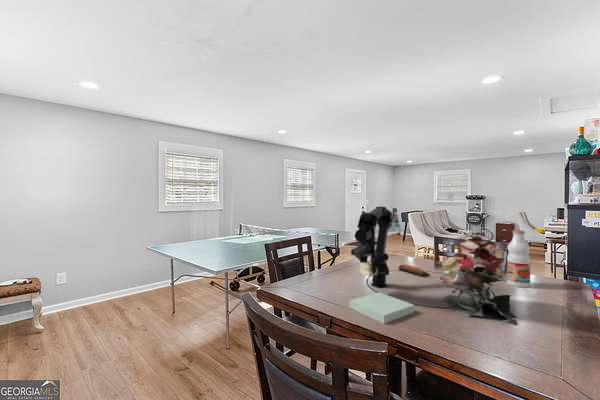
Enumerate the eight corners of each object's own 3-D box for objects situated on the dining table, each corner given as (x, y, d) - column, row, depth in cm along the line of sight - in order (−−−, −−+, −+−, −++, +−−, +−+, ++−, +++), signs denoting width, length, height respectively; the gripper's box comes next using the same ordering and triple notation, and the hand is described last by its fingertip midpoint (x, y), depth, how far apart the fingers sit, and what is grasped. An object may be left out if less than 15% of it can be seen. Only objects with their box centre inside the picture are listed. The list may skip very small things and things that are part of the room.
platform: (379, 298, 129) (379, 292, 129) (414, 312, 114) (414, 304, 114) (349, 307, 119) (349, 300, 119) (383, 323, 104) (383, 315, 104)
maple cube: (368, 272, 139) (368, 261, 139) (377, 274, 135) (377, 263, 134) (360, 274, 136) (360, 262, 136) (369, 276, 132) (369, 264, 131)
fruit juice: (514, 281, 153) (514, 229, 153) (534, 286, 145) (534, 231, 144) (503, 283, 150) (503, 230, 149) (522, 289, 141) (523, 232, 140)
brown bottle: (432, 275, 166) (428, 266, 165) (425, 282, 163) (421, 273, 162) (408, 268, 182) (404, 260, 180) (401, 275, 179) (397, 266, 178)
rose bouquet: (499, 298, 128) (499, 232, 128) (526, 327, 101) (527, 242, 100) (436, 292, 137) (436, 230, 136) (446, 317, 109) (445, 239, 109)
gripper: (342, 238, 139) (342, 270, 139) (371, 243, 123) (372, 279, 123) (359, 236, 145) (359, 267, 145) (389, 241, 129) (389, 275, 129)
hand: (368, 272), depth 135 cm, fingers closed on maple cube, 5 cm apart
